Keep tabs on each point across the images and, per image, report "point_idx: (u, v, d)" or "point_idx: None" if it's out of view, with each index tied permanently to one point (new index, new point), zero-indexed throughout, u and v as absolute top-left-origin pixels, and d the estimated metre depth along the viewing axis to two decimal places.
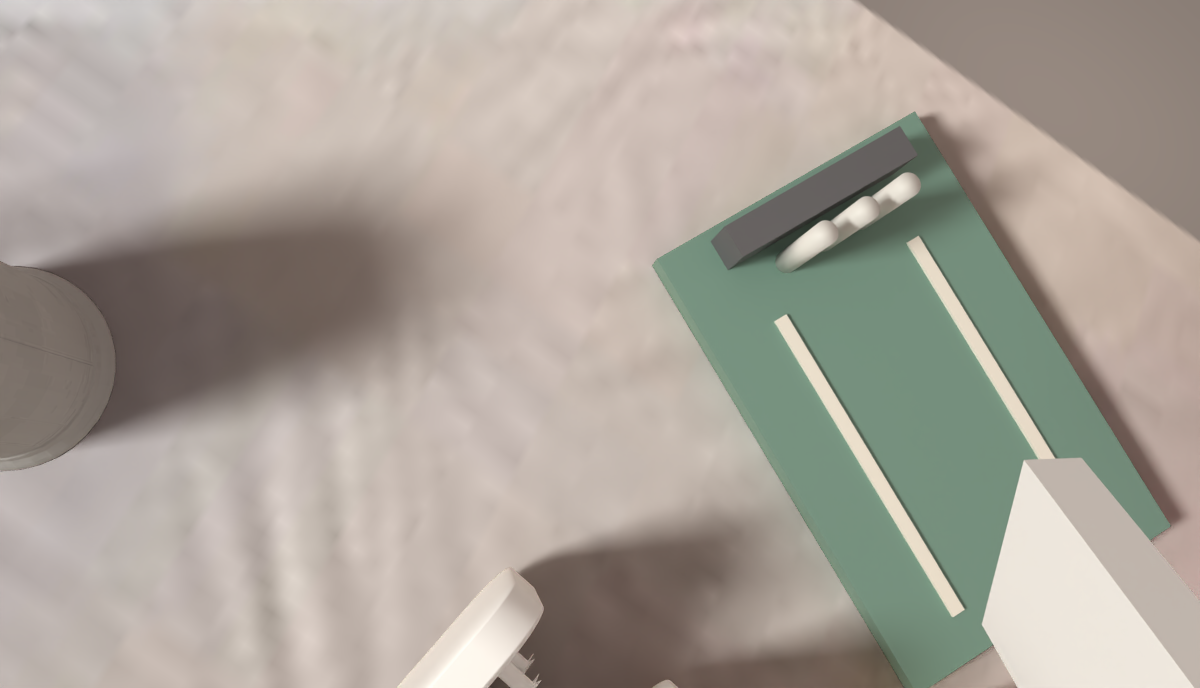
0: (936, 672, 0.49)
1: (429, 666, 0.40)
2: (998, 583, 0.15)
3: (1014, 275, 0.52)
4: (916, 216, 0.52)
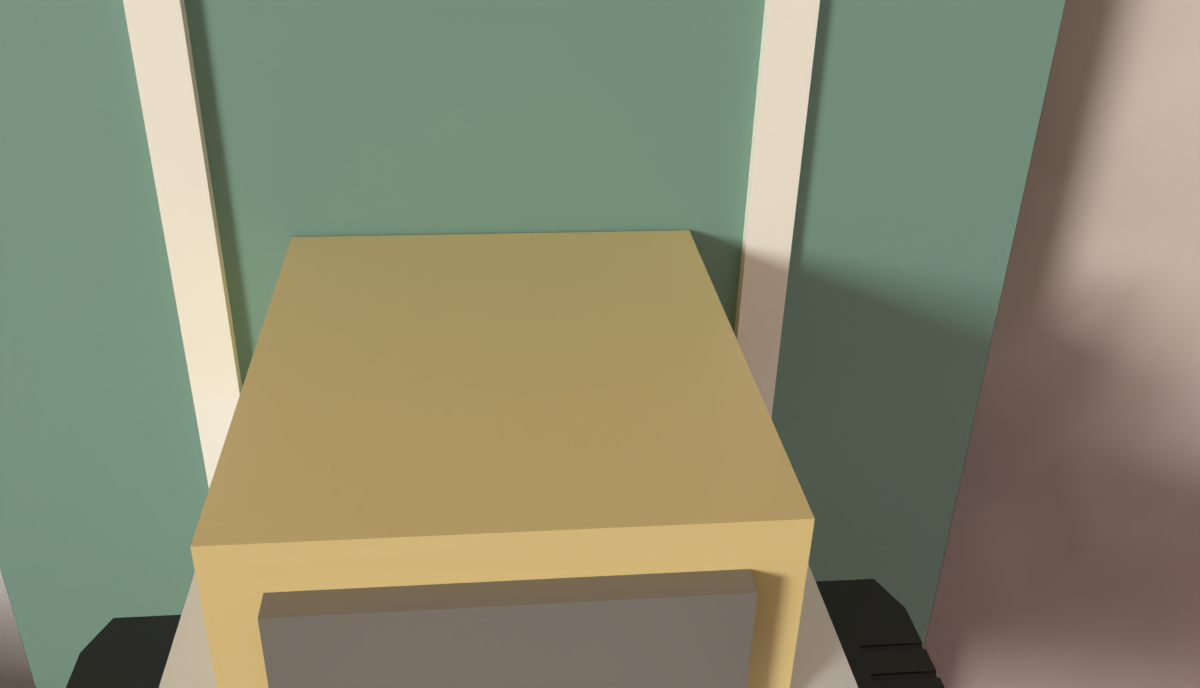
0: None
1: None
2: None
3: (1044, 70, 0.14)
4: None
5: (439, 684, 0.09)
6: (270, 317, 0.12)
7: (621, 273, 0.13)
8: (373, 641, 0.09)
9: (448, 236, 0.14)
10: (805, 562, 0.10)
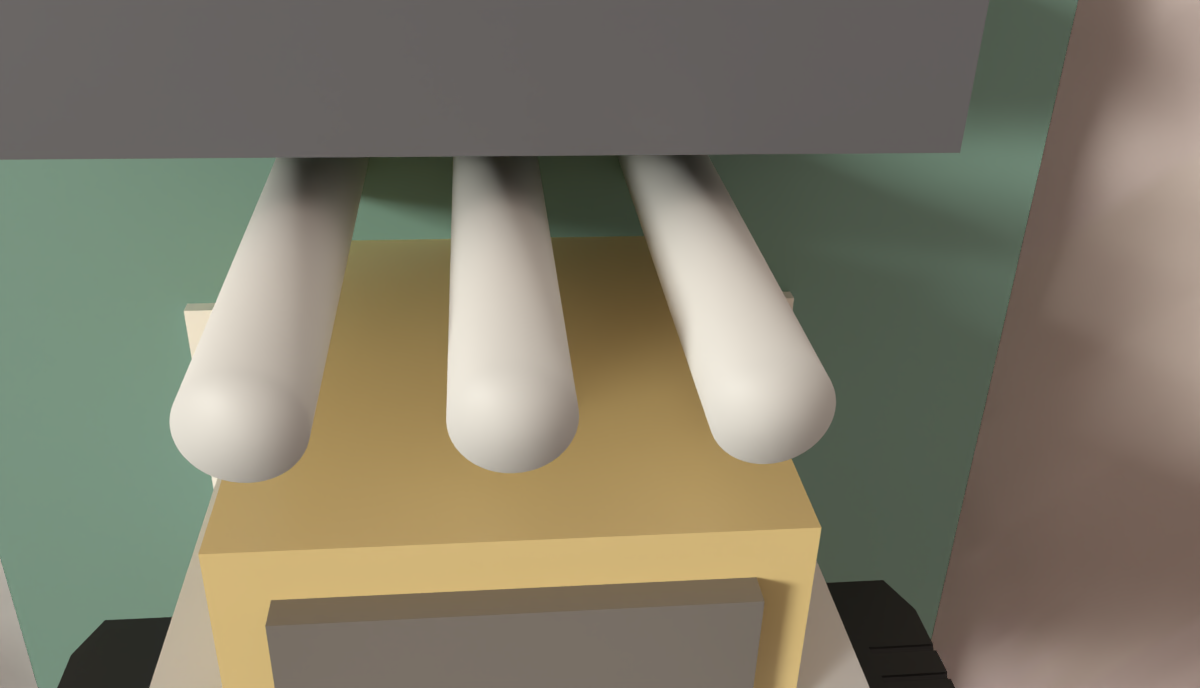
0: None
1: None
2: None
3: (956, 509, 0.17)
4: (832, 235, 0.15)
5: None
6: None
7: (626, 278, 0.13)
8: (380, 649, 0.09)
9: None
10: (811, 571, 0.10)
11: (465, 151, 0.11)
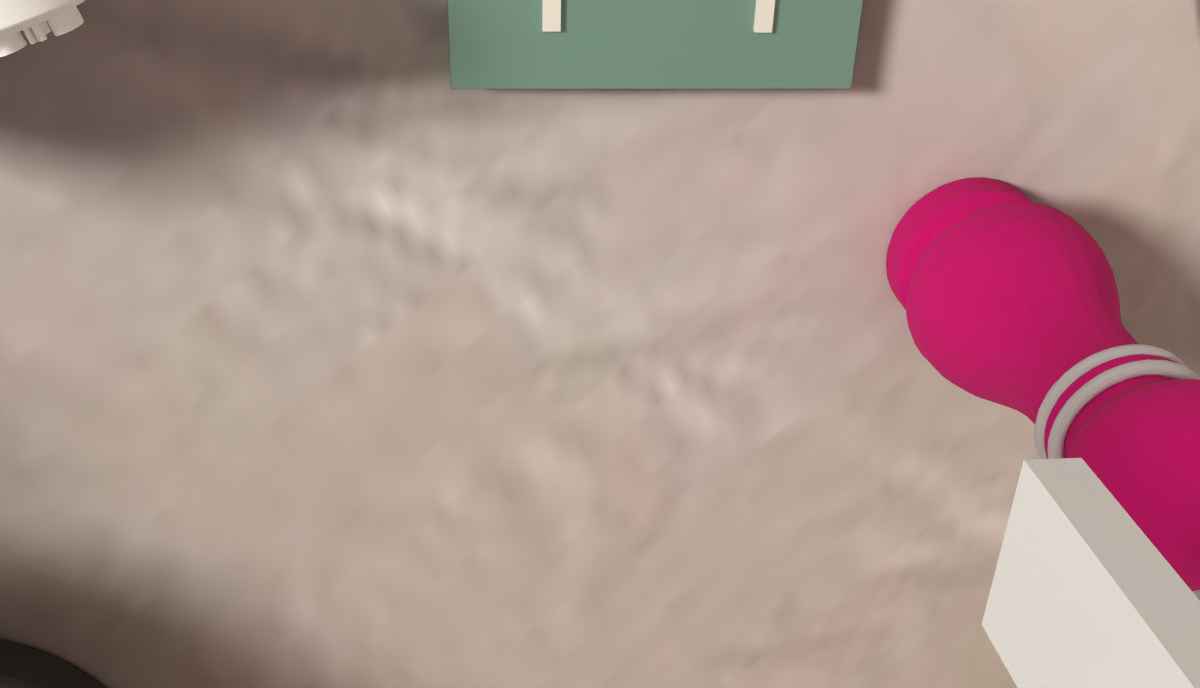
0: (486, 78, 0.38)
1: None
2: (998, 583, 0.15)
3: None
4: None
5: None
6: None
7: None
8: None
9: None
10: None
11: None
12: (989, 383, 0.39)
